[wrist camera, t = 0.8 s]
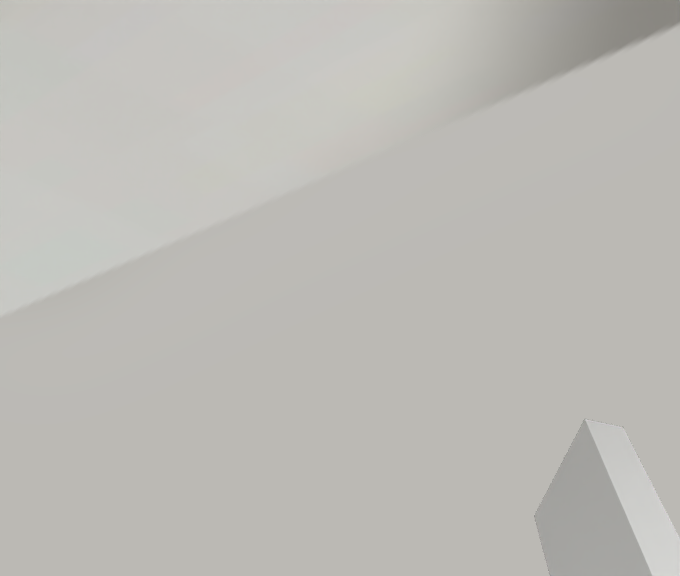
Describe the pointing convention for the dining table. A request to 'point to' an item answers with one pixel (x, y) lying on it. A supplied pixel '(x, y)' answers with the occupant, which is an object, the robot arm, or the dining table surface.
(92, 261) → the dining table surface
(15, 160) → the dining table surface
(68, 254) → the dining table surface
